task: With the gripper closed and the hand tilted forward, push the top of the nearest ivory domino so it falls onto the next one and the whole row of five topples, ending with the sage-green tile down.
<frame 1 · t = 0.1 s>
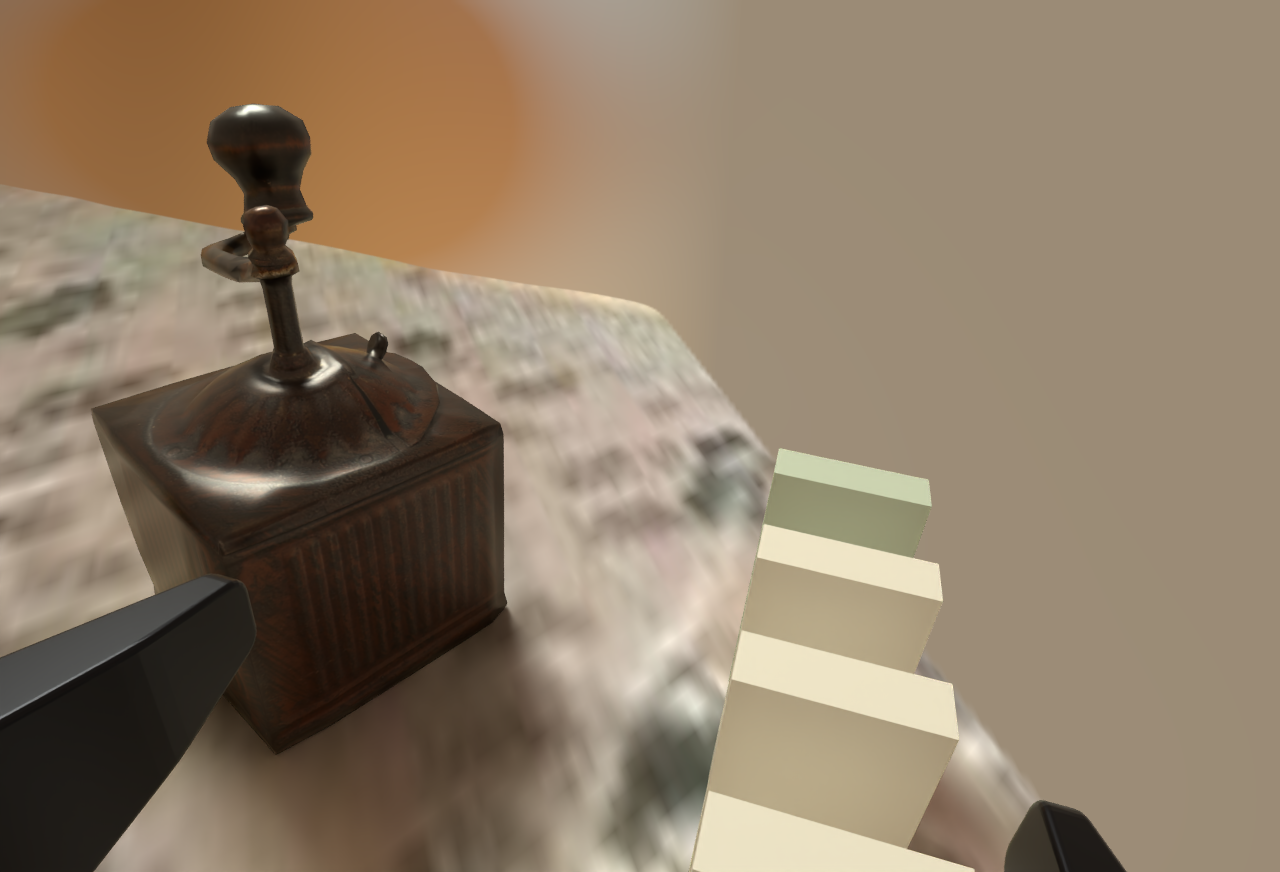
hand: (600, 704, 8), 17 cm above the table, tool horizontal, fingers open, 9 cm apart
dark brown boxy piece: (311, 577, 33), on the table
domino 4: (782, 780, 26), on the table
domino 5: (793, 682, 30), on the table
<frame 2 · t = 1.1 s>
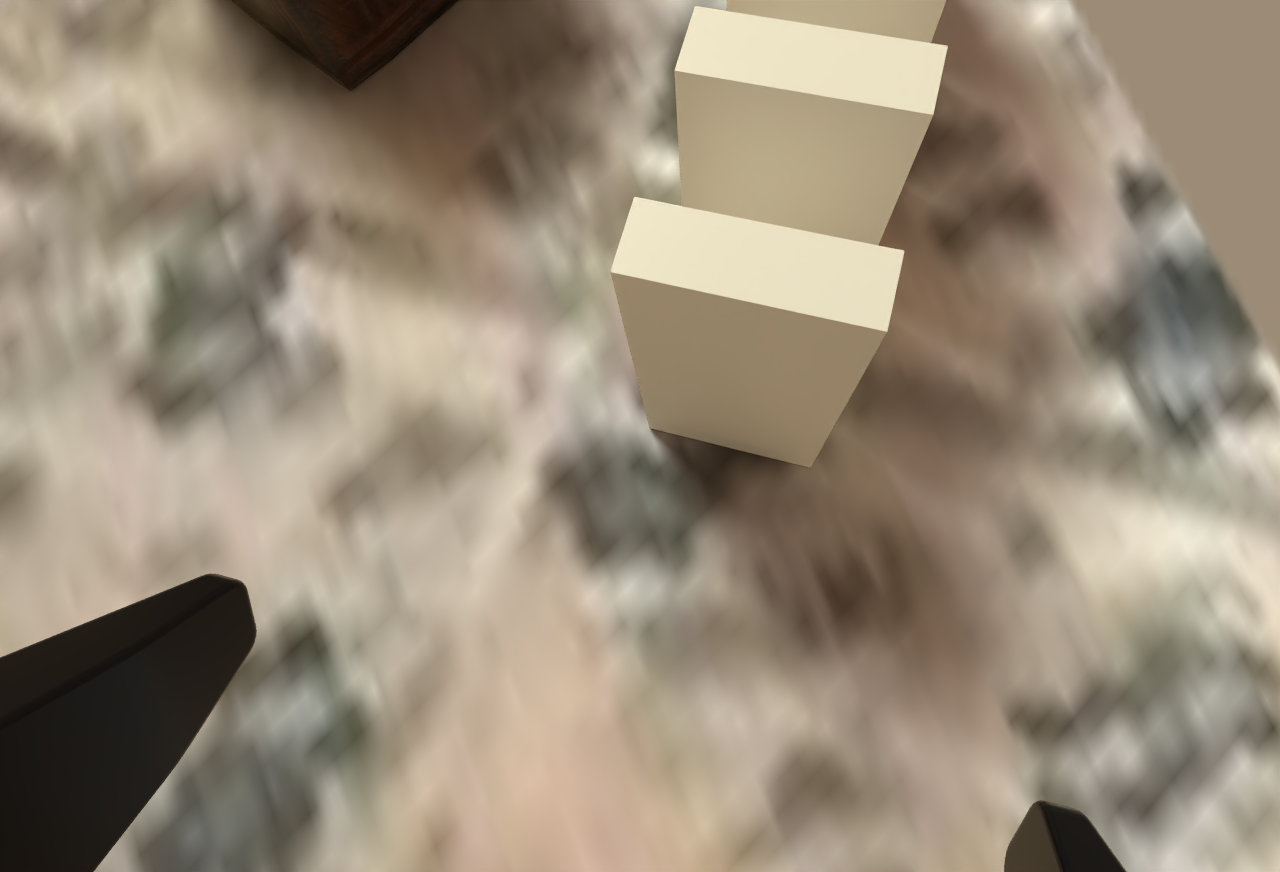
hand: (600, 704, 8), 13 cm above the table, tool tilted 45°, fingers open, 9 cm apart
domino 3: (799, 174, 25), on the table
domino 2: (768, 293, 24), on the table
domino 1: (735, 423, 23), on the table
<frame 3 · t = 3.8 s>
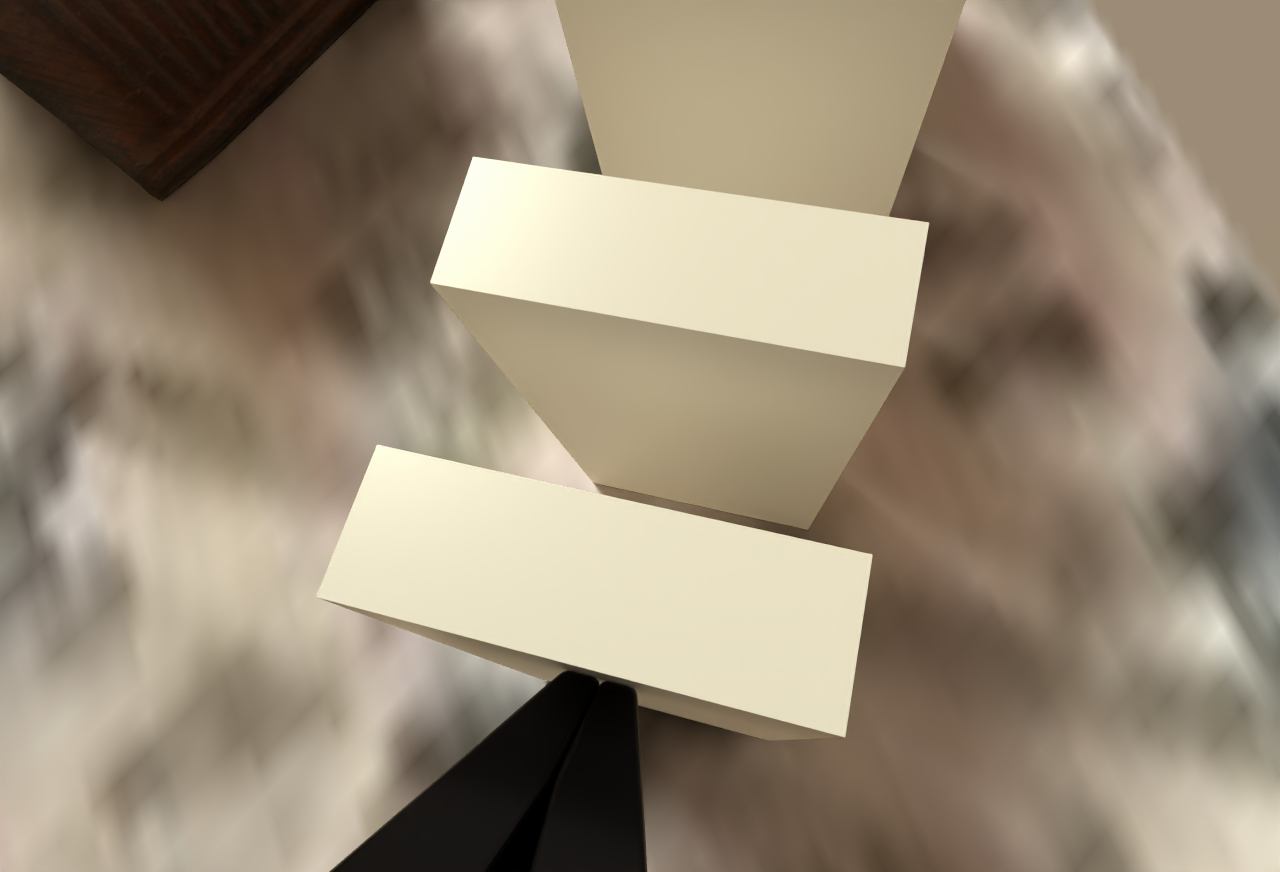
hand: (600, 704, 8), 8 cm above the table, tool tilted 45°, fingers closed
domino 3: (745, 297, 19), on the table
domino 2: (705, 472, 17), on the table
domino 1: (660, 670, 16), on the table, tilted 6°
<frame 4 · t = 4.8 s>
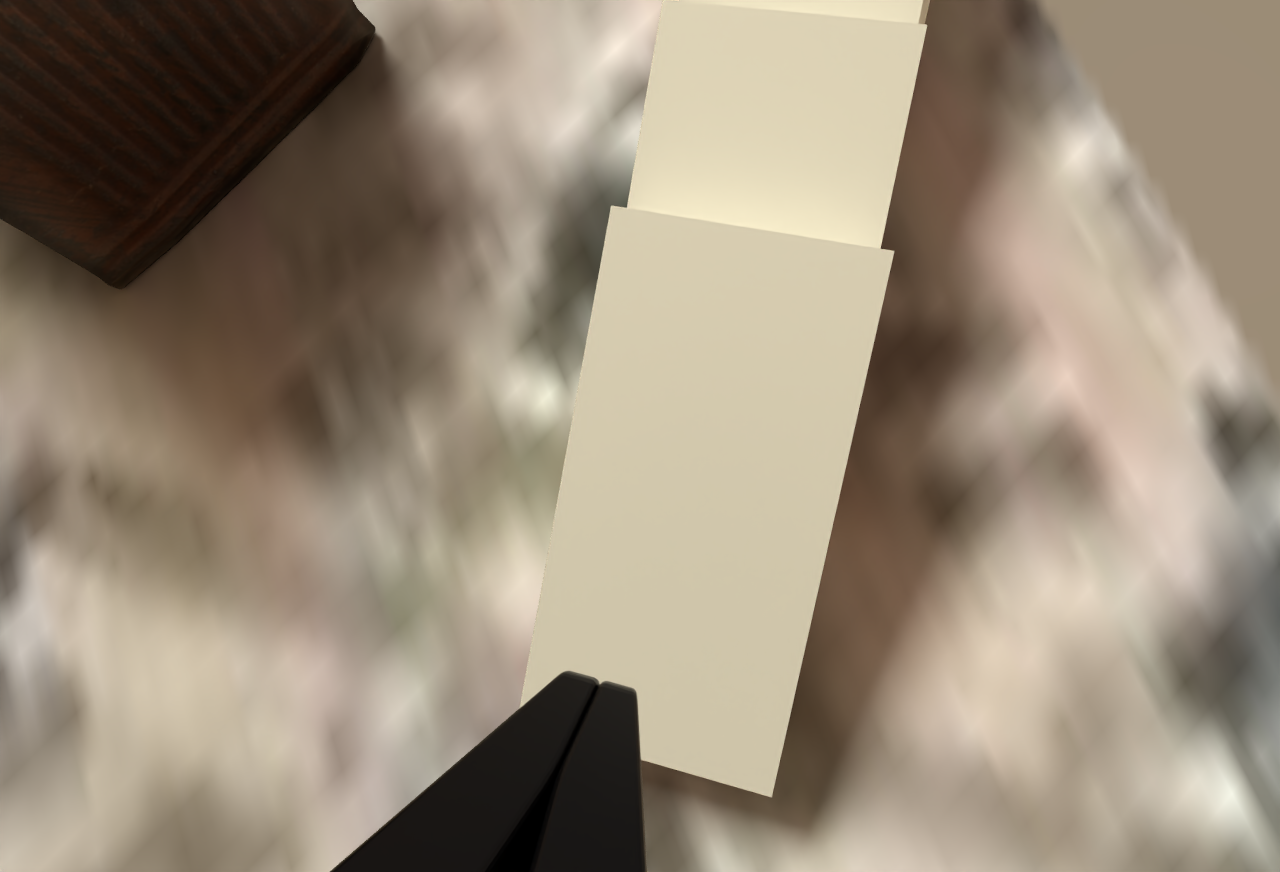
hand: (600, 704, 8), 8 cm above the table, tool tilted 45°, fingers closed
domino 3: (741, 310, 17), point 1 cm above the table, tilted 70°, touching domino 2, domino 4
domino 2: (698, 515, 16), point 1 cm above the table, tilted 70°, touching domino 1, domino 3
dark brown boxy piece: (116, 35, 23), on the table
domino 1: (648, 739, 15), point 1 cm above the table, tilted 70°, touching domino 2
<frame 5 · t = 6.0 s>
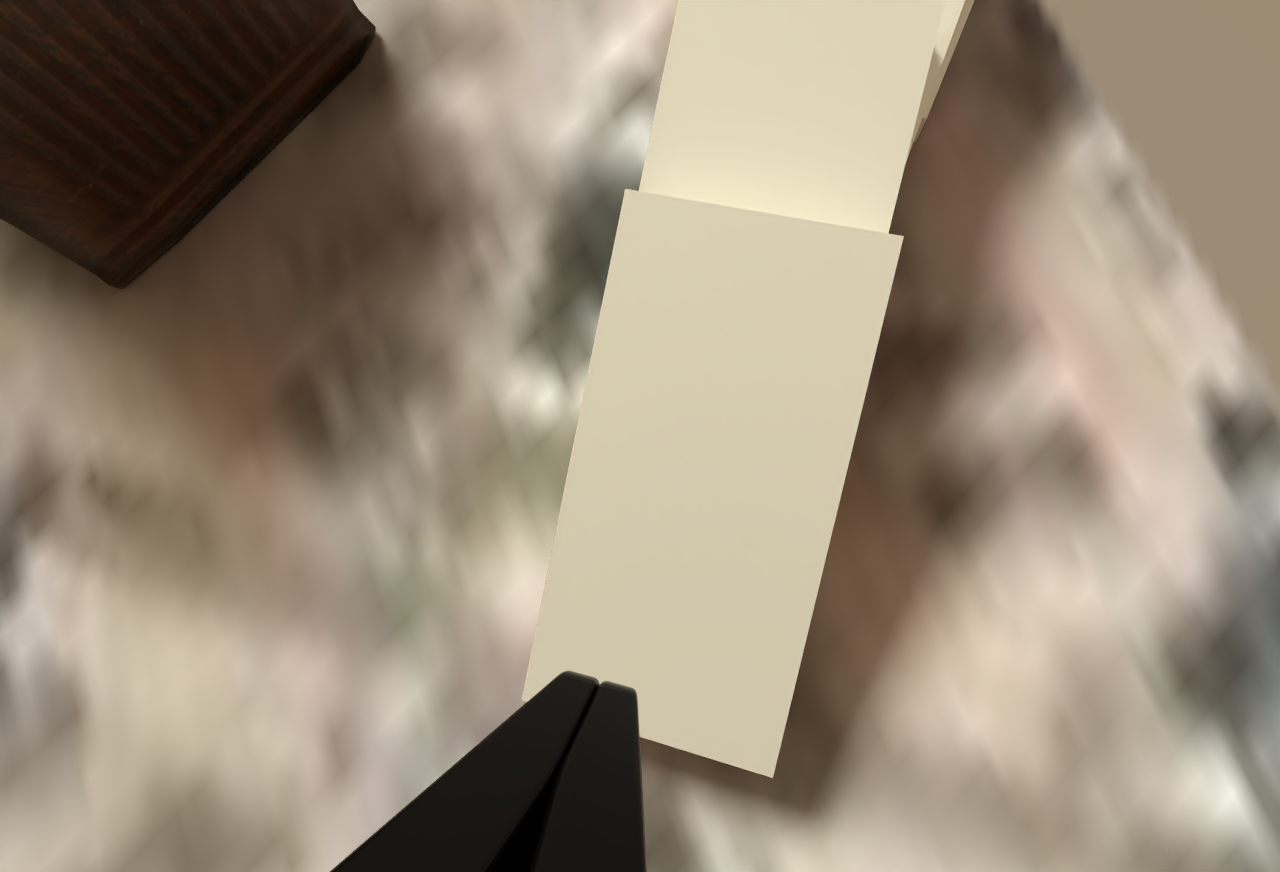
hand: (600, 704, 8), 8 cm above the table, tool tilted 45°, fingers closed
domino 3: (751, 261, 17), point 1 cm above the table, tilted 70°, touching domino 2, domino 4
domino 2: (701, 484, 16), point 1 cm above the table, tilted 70°, touching domino 1, domino 3
dark brown boxy piece: (116, 35, 23), on the table
domino 4: (820, 100, 18), point 1 cm above the table, tilted 72°, touching domino 3
domino 1: (651, 720, 15), point 1 cm above the table, tilted 71°, touching domino 2
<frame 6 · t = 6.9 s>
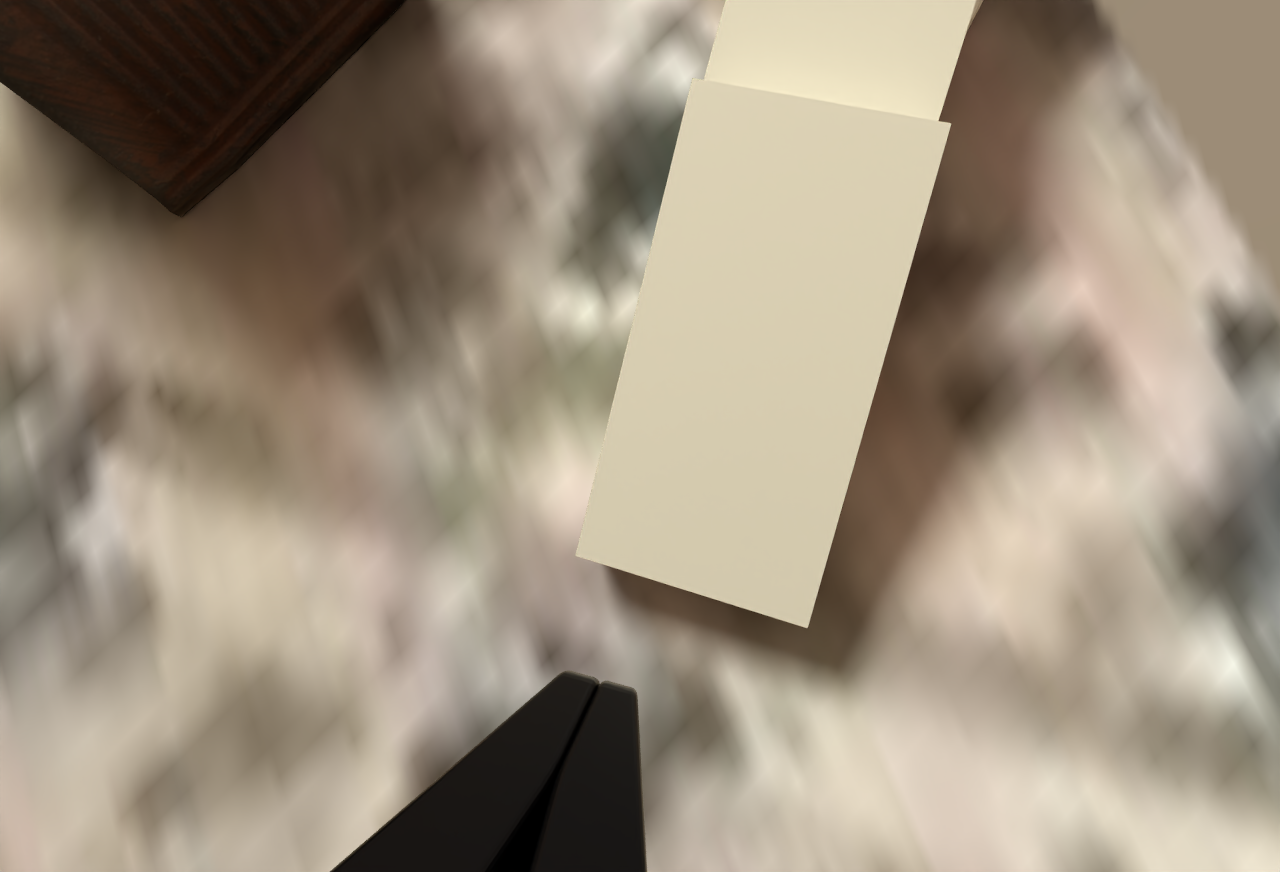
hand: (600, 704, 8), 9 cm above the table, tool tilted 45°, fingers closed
domino 2: (744, 359, 18), point 1 cm above the table, tilted 71°, touching domino 1
domino 1: (693, 581, 16), point 1 cm above the table, tilted 71°, touching domino 2
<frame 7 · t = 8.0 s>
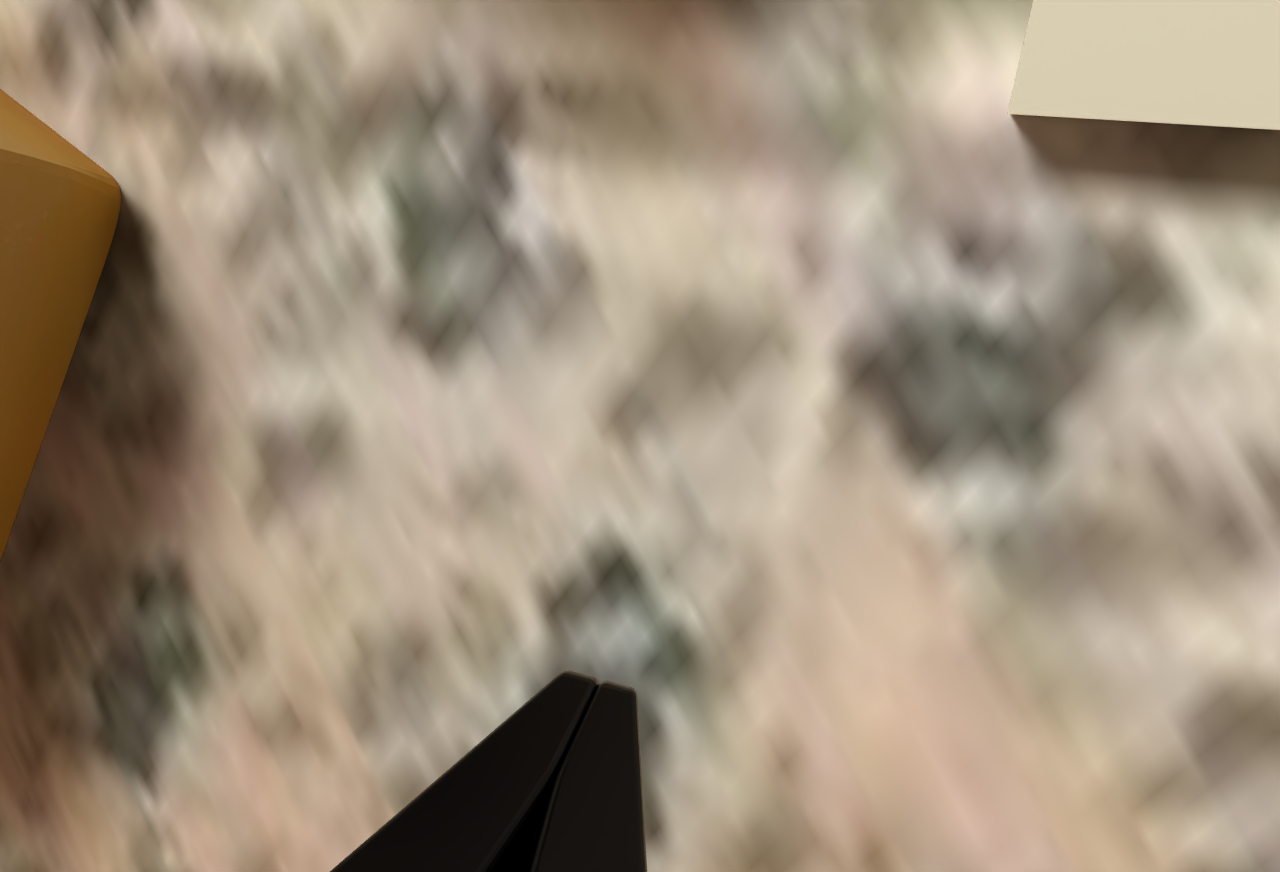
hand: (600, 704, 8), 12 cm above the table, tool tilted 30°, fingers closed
domino 1: (1137, 121, 16), point 1 cm above the table, tilted 71°, touching domino 2
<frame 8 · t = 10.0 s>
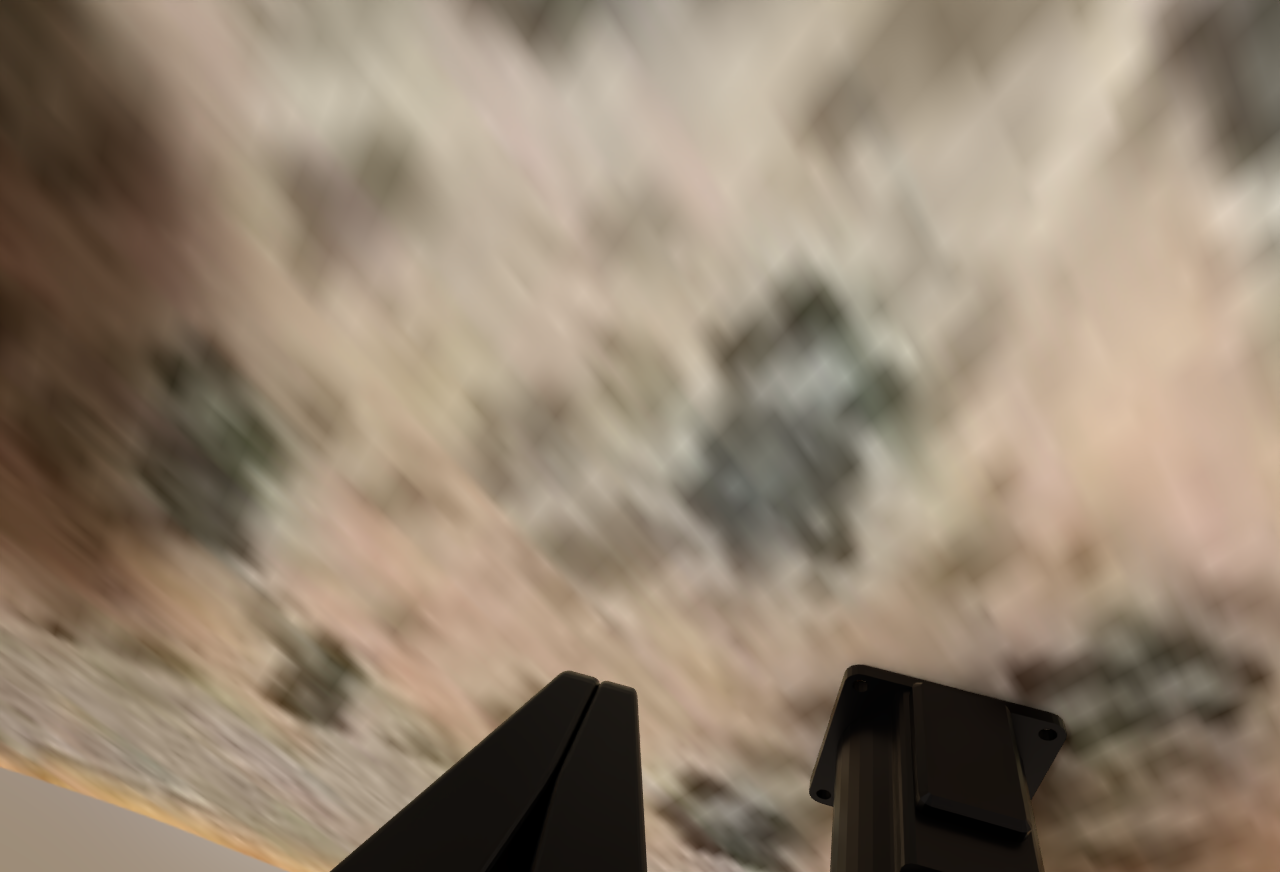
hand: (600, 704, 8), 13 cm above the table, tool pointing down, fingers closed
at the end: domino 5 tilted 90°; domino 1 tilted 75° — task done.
